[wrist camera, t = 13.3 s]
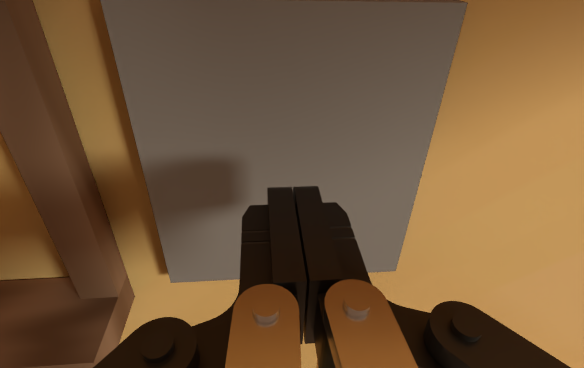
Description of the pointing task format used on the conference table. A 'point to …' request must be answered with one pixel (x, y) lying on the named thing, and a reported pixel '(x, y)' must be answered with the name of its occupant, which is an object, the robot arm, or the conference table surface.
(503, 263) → the conference table surface
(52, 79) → the wooden frame
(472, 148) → the conference table surface
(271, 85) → the pad
